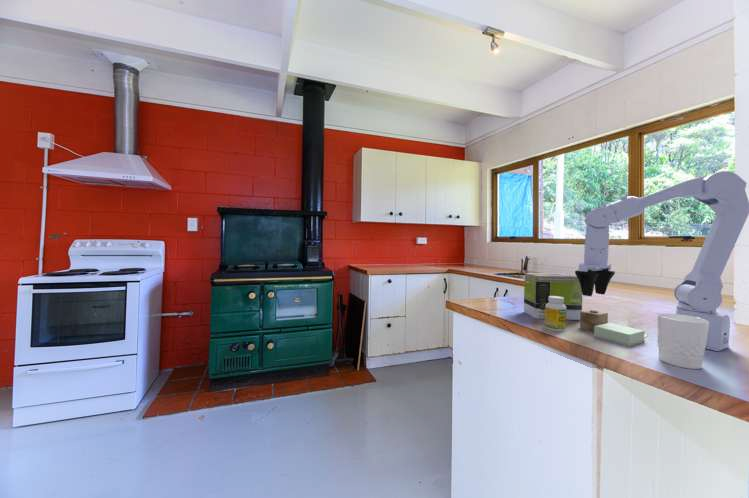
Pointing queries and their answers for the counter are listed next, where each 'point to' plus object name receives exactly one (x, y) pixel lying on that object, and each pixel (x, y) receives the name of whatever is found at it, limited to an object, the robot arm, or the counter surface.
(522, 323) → the counter surface
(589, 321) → the walnut brick
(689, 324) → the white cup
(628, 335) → the base brick
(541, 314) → the tea box
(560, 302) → the supplement bottle
